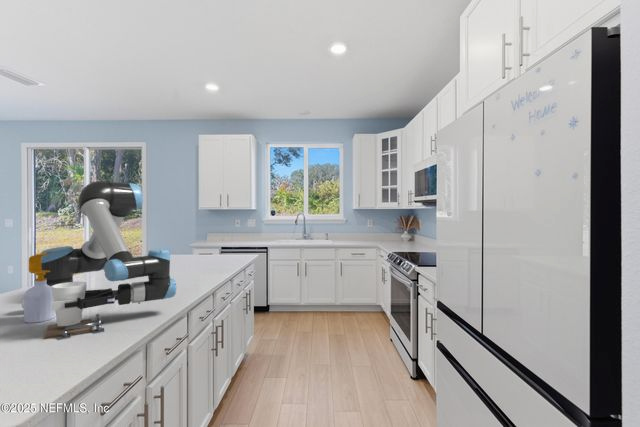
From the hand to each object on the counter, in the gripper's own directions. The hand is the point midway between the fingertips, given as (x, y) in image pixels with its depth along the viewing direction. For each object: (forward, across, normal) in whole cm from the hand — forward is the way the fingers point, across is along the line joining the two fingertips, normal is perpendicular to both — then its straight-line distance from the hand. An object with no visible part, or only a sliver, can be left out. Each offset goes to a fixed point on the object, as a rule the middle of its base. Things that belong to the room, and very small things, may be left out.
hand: (52, 302), depth 107 cm
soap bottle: (+5, +19, -10) cm, 22 cm away
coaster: (-4, 0, -10) cm, 11 cm away
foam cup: (-4, 0, -8) cm, 9 cm away
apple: (+8, +31, -10) cm, 33 cm away
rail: (-8, -3, -10) cm, 13 cm away
